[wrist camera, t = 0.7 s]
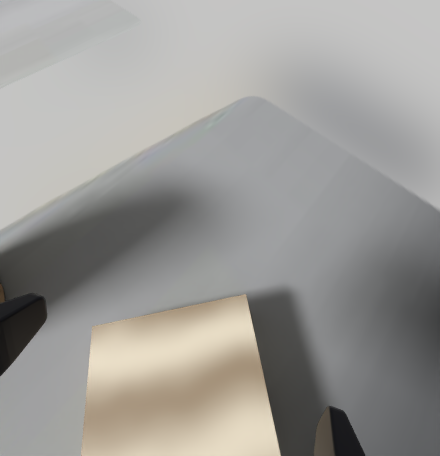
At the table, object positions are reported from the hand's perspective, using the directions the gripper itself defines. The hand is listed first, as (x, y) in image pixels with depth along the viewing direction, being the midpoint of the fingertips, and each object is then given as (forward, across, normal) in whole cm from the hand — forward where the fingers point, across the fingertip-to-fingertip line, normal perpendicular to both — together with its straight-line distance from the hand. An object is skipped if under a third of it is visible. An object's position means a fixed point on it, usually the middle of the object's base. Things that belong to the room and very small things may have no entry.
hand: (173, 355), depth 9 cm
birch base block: (+8, +1, +15) cm, 17 cm away
